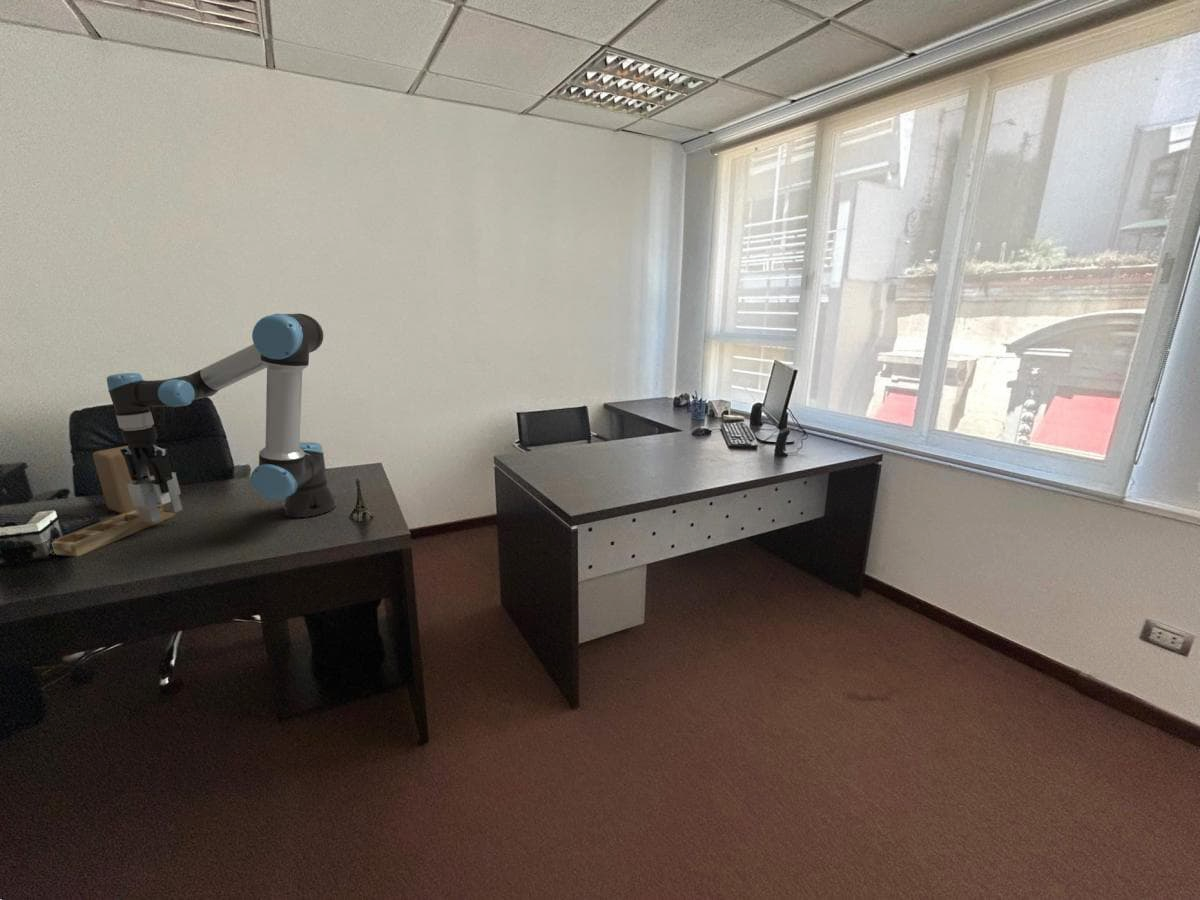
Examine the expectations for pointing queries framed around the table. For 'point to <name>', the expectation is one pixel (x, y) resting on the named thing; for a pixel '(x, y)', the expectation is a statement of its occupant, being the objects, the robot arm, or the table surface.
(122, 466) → the wooden block
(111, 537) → the rail
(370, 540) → the table surface
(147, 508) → the grey concrete brick
